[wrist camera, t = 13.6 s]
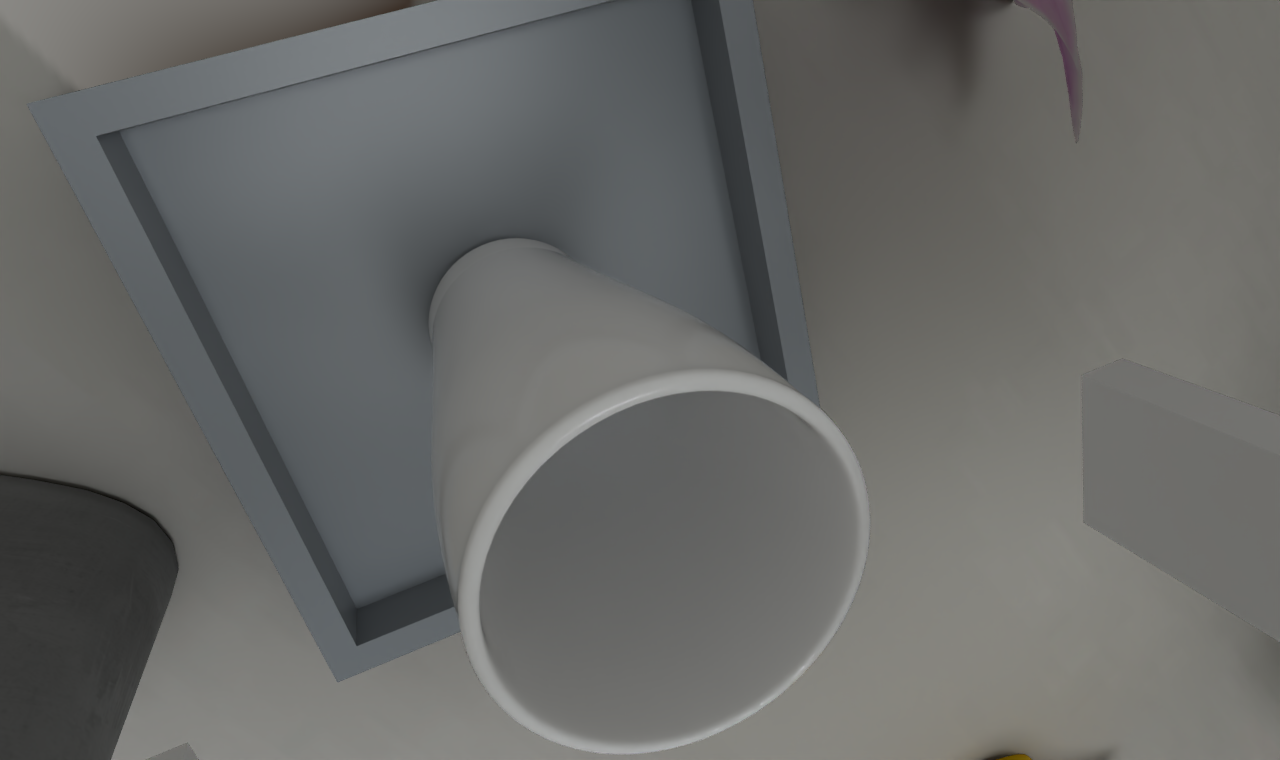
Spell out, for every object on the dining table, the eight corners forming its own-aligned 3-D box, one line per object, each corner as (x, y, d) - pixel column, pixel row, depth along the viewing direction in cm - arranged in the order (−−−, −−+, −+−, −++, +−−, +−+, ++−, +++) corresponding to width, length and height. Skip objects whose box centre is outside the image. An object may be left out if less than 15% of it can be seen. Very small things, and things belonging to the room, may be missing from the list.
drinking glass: (367, 248, 23) (377, 474, 10) (585, 182, 25) (852, 301, 11) (444, 446, 26) (534, 830, 13) (636, 377, 27) (899, 658, 14)
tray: (698, -59, 24) (740, -77, 22) (791, 444, 32) (831, 478, 29) (69, 101, 21) (26, 103, 18) (339, 625, 28) (337, 682, 25)
